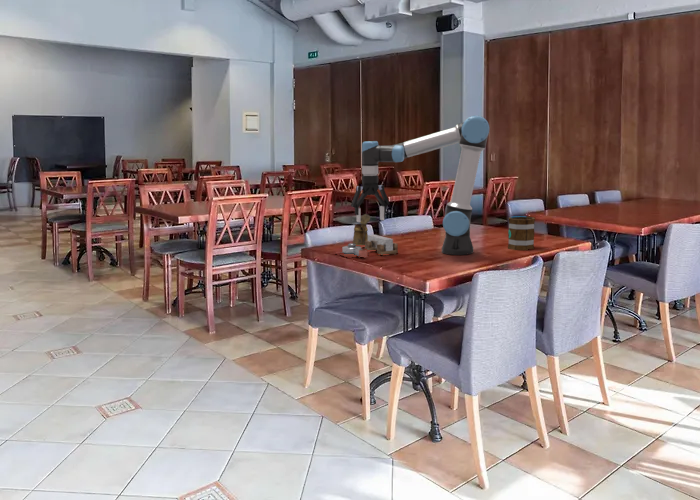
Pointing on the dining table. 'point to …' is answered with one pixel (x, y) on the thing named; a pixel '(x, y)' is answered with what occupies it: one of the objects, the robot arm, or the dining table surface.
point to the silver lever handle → (354, 250)
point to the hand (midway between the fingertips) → (370, 221)
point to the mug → (521, 233)
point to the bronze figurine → (361, 231)
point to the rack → (381, 248)
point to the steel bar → (381, 242)
